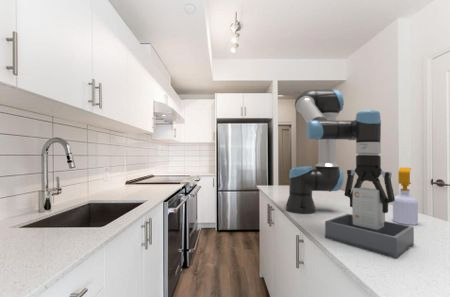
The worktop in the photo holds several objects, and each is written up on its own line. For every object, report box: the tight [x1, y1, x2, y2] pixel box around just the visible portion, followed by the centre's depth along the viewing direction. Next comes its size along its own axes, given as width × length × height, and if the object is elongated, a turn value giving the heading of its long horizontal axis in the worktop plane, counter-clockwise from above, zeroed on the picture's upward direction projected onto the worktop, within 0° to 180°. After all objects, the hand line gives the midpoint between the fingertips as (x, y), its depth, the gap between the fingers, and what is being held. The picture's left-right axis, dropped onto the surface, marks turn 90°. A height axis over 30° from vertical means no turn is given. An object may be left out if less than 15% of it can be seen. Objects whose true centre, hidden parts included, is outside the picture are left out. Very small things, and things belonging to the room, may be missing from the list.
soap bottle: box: [392, 166, 419, 226], centre depth 110 cm, size 9×9×25 cm
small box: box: [352, 186, 384, 230], centre depth 86 cm, size 8×6×13 cm
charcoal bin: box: [324, 213, 415, 259], centre depth 86 cm, size 22×18×6 cm
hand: (368, 219), depth 86 cm, fingers closed on small box, 8 cm apart
